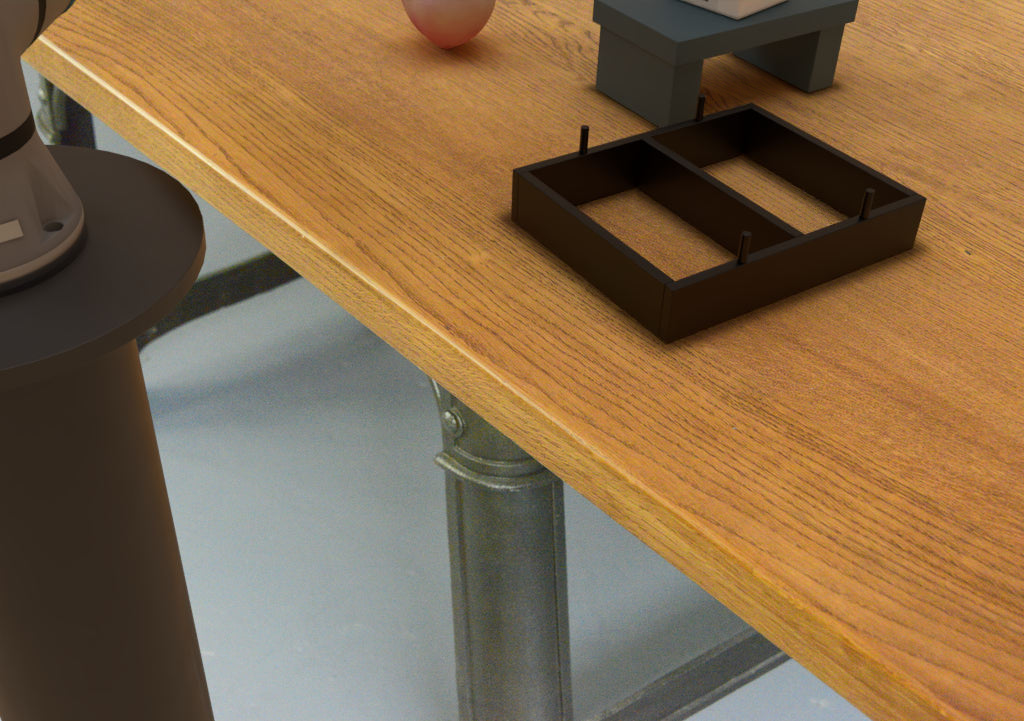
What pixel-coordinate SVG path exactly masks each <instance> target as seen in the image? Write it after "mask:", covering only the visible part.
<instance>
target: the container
mask: <svg viewBox="0 0 1024 721" xmlns="http://www.w3.org/2000/svg"><path fill="white" fill-rule="evenodd" d="M681 1H684V2H687V3H690V4H693V5H696V6H699V7H701V8H704V9H707V10H710V11H713V12H716V13H719V14H721V15H724V16H727V17H730V18H733V19H736V20H739V19H741V18H744V17H746V16H749V15H751V14H754V13H756V12H759V11H762V10H764V9H767V8H769V7H772V6H774V5H777V4H779V3H782V2H784V1H787V0H681Z"/></svg>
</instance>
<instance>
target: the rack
mask: <svg viewBox="0 0 1024 721" xmlns="http://www.w3.org/2000/svg"><path fill="white" fill-rule="evenodd" d="M706 98H707V96H706V94H705V93H699V94H698V98H697V105H696V112H695V118H694V119H690V120H687V121H683V122H680V123H676V124H672V125H669V126H665V127H662V128H659V127H657V128H655V129H651V130H648V131H643V132H640V133H637V134H633V135H630V136H626V137H622V138H619V139H616V140H615V139H614V140H612V141H608V142H605V143H601V144H598V145H594V146H590V147H589V136H590V126H589V125H588V124H582V125H580V133H579V147H578V150H576V151H573V152H569V153H566V154H562V155H559V156H555V157H551V158H548V159H544V160H540V161H537V162H534V163H533V162H532V163H530V164H526V165H523V166H522V165H521V166H520V167H516V168H513V169H512V177H511V178H512V181H511V205H510V206H511V208H510V219H511V221H513V222H514V223H515V224H517V225H518V226H520V227H521V229H523V230H524V231H525V232H527V233H528V234H529V235H531V236H532V237H533V238H534V239H536V240H537V241H538V242H539V243H541V244H542V245H543V247H545V248H546V249H548V250H549V251H550V252H552V253H553V254H554V255H555V256H557V257H558V258H559V259H560V260H562V261H563V262H564V263H565V264H567V265H568V266H569V267H570V268H571V269H572V270H574V271H575V272H577V273H578V274H579V275H580V276H581V277H582V278H584V279H585V280H586V281H587V282H589V283H590V284H591V285H592V286H594V287H595V288H596V289H598V291H599V292H601V293H602V294H603V295H605V296H606V297H607V298H608V299H610V300H611V301H612V302H613V303H614V304H616V305H617V306H619V307H620V308H621V309H622V310H623V311H625V312H626V313H627V314H628V315H630V316H631V317H632V318H633V319H635V320H636V321H637V322H638V323H639V324H641V325H642V326H643V327H644V328H646V329H647V330H648V331H650V332H651V333H652V334H653V335H655V336H656V337H657V338H658V339H660V340H661V341H662V342H663V343H664V344H666V345H667V344H669V343H672V342H674V341H678V340H680V339H683V338H685V337H688V336H690V335H692V334H695V333H698V332H700V331H703V330H705V329H708V328H711V327H713V326H716V325H718V324H721V323H723V322H726V321H728V320H731V319H734V318H736V317H739V316H742V315H744V314H746V313H749V312H753V311H754V310H757V309H759V308H762V307H764V306H767V305H770V304H772V303H775V302H777V301H780V300H783V299H785V298H788V297H790V296H793V295H795V294H798V293H801V292H803V291H805V290H808V289H811V288H813V287H816V286H818V285H821V284H823V283H826V282H828V281H829V282H830V281H831V280H834V279H836V278H840V277H841V276H844V275H847V274H849V273H851V272H855V271H857V270H859V269H862V268H864V267H868V266H870V265H873V264H875V263H878V262H880V261H883V260H886V259H888V258H890V257H893V256H896V255H897V254H901V253H902V252H906V251H908V250H910V249H911V250H912V249H914V246H915V244H916V243H915V242H916V240H917V236H918V232H919V228H920V224H921V222H922V217H923V214H924V211H925V206H926V203H927V200H928V198H927V197H925V196H924V195H922V194H920V193H918V191H915V190H913V189H911V188H909V187H907V186H906V185H904V184H903V183H900V182H898V181H897V180H895V179H893V178H891V177H889V176H888V175H885V174H884V173H882V172H880V171H878V170H876V169H874V168H873V167H871V166H869V165H867V164H866V163H864V162H862V161H860V160H858V159H856V158H855V157H853V156H851V155H849V154H847V153H845V152H844V151H841V150H840V149H838V148H836V147H834V146H832V145H831V144H830V143H827V142H825V141H823V140H822V139H821V138H819V137H817V136H814V135H812V134H811V133H808V132H807V131H805V130H803V129H801V128H800V127H798V126H796V125H795V124H792V123H790V122H789V121H787V120H785V119H783V118H781V117H779V116H777V115H776V114H774V113H772V112H770V111H769V110H767V109H765V108H763V107H761V106H759V105H757V104H756V103H754V102H748V103H744V104H741V105H738V106H734V107H730V108H726V109H723V110H719V111H716V112H712V113H709V114H704V112H705V106H706V100H707V99H706ZM742 155H743V156H746V157H748V158H749V159H751V160H752V161H754V162H755V163H757V164H759V165H761V166H763V167H764V168H766V169H768V170H769V171H770V172H773V173H774V174H776V175H778V176H779V177H781V178H783V179H785V180H786V181H787V182H789V183H791V184H792V185H795V186H796V187H798V188H799V189H801V190H803V191H804V192H806V193H808V194H810V195H811V196H813V197H815V198H817V199H818V200H820V201H822V202H823V203H825V204H826V205H828V206H830V207H832V208H833V209H835V210H837V211H838V212H840V213H842V214H843V215H845V216H847V217H849V218H847V219H844V220H840V221H838V222H835V223H832V224H830V225H827V226H823V227H821V228H819V229H815V230H813V231H811V232H808V233H804V232H803V231H800V230H799V229H798V228H795V227H794V226H793V225H791V224H789V223H788V222H787V221H785V220H783V219H781V217H778V216H777V215H775V214H773V213H772V212H770V211H769V210H767V209H765V208H764V207H762V206H761V205H759V204H758V203H756V202H754V201H753V200H752V199H750V198H748V197H747V196H745V195H743V194H741V193H740V192H739V191H737V190H736V189H735V188H732V187H730V186H729V185H728V184H726V183H724V182H723V181H721V180H719V179H718V178H716V177H715V176H713V175H712V174H710V173H708V172H707V171H705V170H704V169H702V167H707V166H709V165H713V164H716V163H719V162H722V161H725V160H726V161H727V160H728V159H732V158H736V157H739V156H742ZM634 188H637V189H639V190H640V191H642V192H643V193H645V194H646V195H647V196H649V197H650V198H652V199H653V200H655V201H656V202H658V203H659V204H661V206H663V207H665V208H666V209H668V210H670V211H671V212H672V213H674V214H675V215H676V216H678V217H679V218H681V219H683V220H684V221H686V222H687V223H688V224H690V225H692V226H693V227H695V228H696V229H697V230H698V231H700V232H702V233H703V234H704V235H706V236H707V237H708V238H710V239H711V240H713V241H715V242H716V243H718V244H719V245H721V246H722V247H724V248H725V249H727V250H728V251H729V252H731V253H732V254H733V255H735V256H737V258H735V259H732V260H729V261H727V262H724V263H721V264H719V265H716V266H715V265H714V266H713V267H710V268H708V269H704V270H702V271H699V272H696V273H693V274H691V275H688V276H685V277H683V278H680V279H679V278H678V279H677V280H675V279H673V278H672V277H671V276H670V275H668V274H667V273H665V272H664V271H663V270H661V269H660V268H658V267H657V266H656V265H655V264H653V263H652V262H650V261H649V260H648V259H647V258H645V257H644V256H642V255H641V254H640V253H638V252H637V251H635V249H633V248H631V247H630V246H629V245H628V244H626V242H624V241H623V240H621V239H620V238H618V237H617V236H616V235H614V234H613V233H612V232H610V231H609V230H608V229H606V228H605V227H604V226H602V225H601V224H600V223H598V221H597V222H596V221H595V220H594V219H593V218H591V217H590V216H589V215H587V214H586V213H585V212H583V211H582V210H581V209H579V208H578V207H577V206H579V205H582V204H585V203H588V202H591V201H595V200H598V199H601V198H604V197H608V196H611V195H615V194H618V193H620V192H624V191H627V190H632V189H634Z"/></svg>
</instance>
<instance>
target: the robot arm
mask: <svg viewBox="0 0 1024 721" xmlns="http://www.w3.org/2000/svg"><path fill="white" fill-rule="evenodd" d="M76 2H77V0H0V297H3V296H7V295H10V294H13V293H16V292H19V291H22V290H24V289H27V288H29V287H32V286H34V285H36V284H38V283H40V282H42V281H44V280H46V279H48V278H50V277H51V276H53V275H55V274H56V273H58V272H59V271H61V270H62V269H63V268H65V267H66V266H67V265H69V264H70V263H71V262H72V261H73V260H74V259H75V258H76V257H77V255H78V254H79V253H80V252H81V250H82V249H83V247H84V245H85V243H86V239H87V234H88V230H87V224H86V220H85V215H84V211H83V206H82V203H81V200H80V199H79V197H78V196H77V194H76V192H75V191H74V189H73V188H72V186H71V185H70V183H69V182H68V180H67V178H66V177H65V175H64V174H63V172H62V171H61V169H60V168H59V166H58V164H57V163H56V161H55V160H54V158H53V157H52V155H51V153H50V152H49V150H48V149H47V147H46V146H45V145H46V144H45V142H44V141H43V139H42V138H41V136H40V134H39V132H38V129H37V126H36V120H35V118H34V112H33V109H32V104H31V101H30V96H29V92H28V87H27V83H26V79H25V74H24V70H23V65H22V61H21V60H22V59H21V58H22V56H23V54H25V52H26V51H27V50H28V49H29V48H30V47H31V46H32V45H33V44H34V43H35V42H36V41H37V40H38V39H39V37H40V36H41V35H43V33H45V31H46V30H47V29H48V28H49V27H51V25H52V24H53V23H54V22H55V21H56V20H58V18H59V17H61V16H62V15H64V14H65V13H66V12H68V11H69V10H70V9H71V8H72V7H73V5H74V4H75V3H76Z"/></svg>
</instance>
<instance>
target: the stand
mask: <svg viewBox="0 0 1024 721" xmlns="http://www.w3.org/2000/svg"><path fill="white" fill-rule="evenodd" d="M859 3H860V0H787V1H784V2H782V3H779V4H777V5H774V6H772V7H769V8H767V9H764V10H762V11H759V12H756V13H754V14H751V15H749V16H746V17H744V18H741V19H739V20H736V19H733V18H730V17H727V16H724V15H721V14H719V13H716V12H713V11H710V10H707V9H704V8H701V7H699V6H696V5H693V4H690V3H687V2H684V1H681V0H593V6H592V18H591V19H592V22H593V23H595V24H597V25H599V27H600V28H599V40H598V52H597V64H596V75H595V76H596V77H595V90H597V91H599V92H600V93H602V94H604V95H606V96H607V97H609V98H610V99H612V100H614V101H615V102H617V103H618V104H620V105H621V106H623V107H625V108H626V109H628V110H630V111H632V112H633V113H634V114H636V115H638V116H639V117H641V118H643V119H644V120H646V121H648V122H649V123H651V124H652V125H654V126H655V127H657V128H662V127H665V126H669V125H672V124H676V123H680V122H683V121H687V120H690V119H694V118H695V112H696V105H697V98H698V94H700V90H701V83H702V76H703V70H704V62H705V60H708V59H711V58H715V57H719V56H723V55H727V54H731V53H732V55H734V56H736V57H738V58H739V59H741V60H743V61H746V62H748V63H749V64H751V65H753V66H755V67H757V68H759V69H761V70H763V71H765V72H767V73H769V74H770V75H773V76H775V77H776V78H778V79H780V80H782V81H785V82H786V83H788V84H790V85H792V86H794V87H796V88H798V89H800V90H802V91H804V92H805V93H813V92H816V91H820V90H824V89H827V88H831V87H833V84H834V81H835V80H834V79H835V76H836V75H835V74H836V69H837V65H838V60H839V57H840V56H839V55H840V52H841V46H842V42H843V37H844V33H845V27H846V24H847V25H848V24H850V23H854V22H855V21H856V16H857V12H858V7H859Z"/></svg>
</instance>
